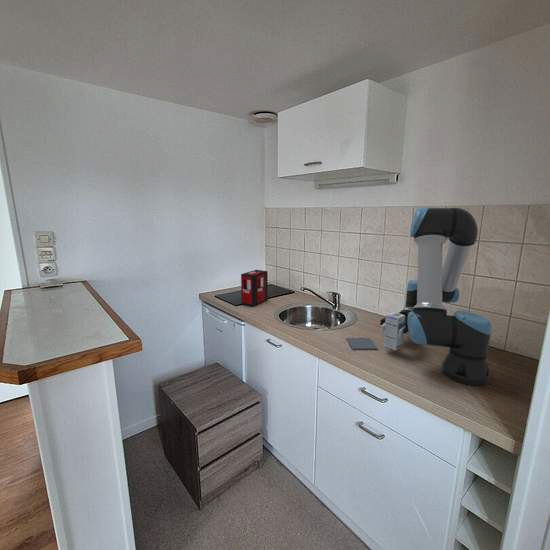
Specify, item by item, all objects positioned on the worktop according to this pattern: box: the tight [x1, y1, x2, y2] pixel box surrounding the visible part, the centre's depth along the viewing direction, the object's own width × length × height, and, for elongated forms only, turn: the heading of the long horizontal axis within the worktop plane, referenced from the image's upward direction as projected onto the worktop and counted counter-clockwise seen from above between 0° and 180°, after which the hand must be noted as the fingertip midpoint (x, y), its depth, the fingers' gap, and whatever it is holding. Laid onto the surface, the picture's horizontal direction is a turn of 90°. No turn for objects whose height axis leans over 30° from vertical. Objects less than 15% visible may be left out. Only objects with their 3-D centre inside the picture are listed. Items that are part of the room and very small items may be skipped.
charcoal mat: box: [345, 337, 378, 351], centre depth 139 cm, size 11×11×1 cm
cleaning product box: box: [240, 269, 269, 308], centre depth 197 cm, size 16×9×20 cm, turn 148°
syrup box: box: [383, 311, 405, 352], centre depth 129 cm, size 6×6×14 cm
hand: (390, 331), depth 125 cm, fingers closed on syrup box, 7 cm apart
